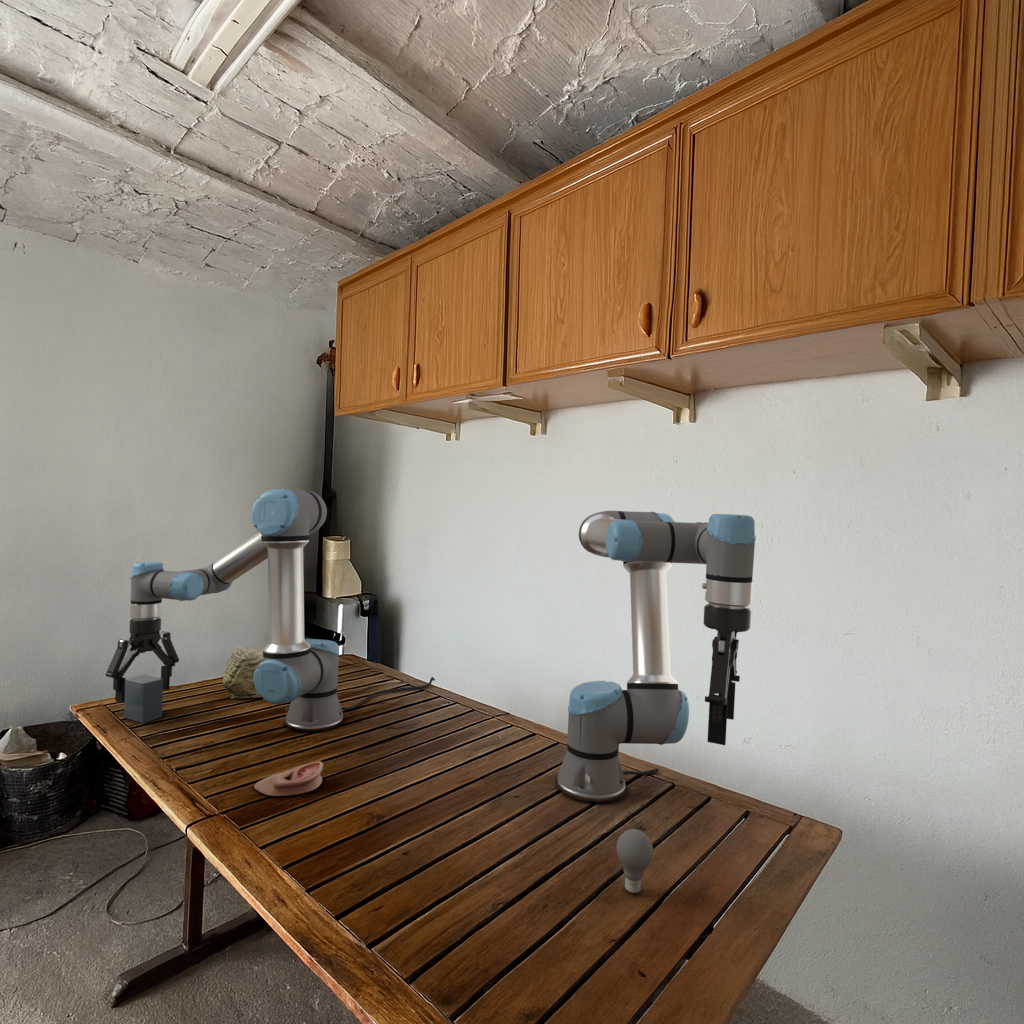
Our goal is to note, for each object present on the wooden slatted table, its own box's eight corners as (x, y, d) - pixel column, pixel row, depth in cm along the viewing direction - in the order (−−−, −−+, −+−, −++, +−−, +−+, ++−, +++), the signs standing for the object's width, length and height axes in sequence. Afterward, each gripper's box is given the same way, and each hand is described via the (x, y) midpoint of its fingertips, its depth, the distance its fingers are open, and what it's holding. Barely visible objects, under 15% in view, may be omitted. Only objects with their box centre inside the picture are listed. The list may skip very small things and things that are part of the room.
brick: (143, 711, 179) (144, 674, 179) (162, 717, 176) (163, 678, 176) (123, 717, 174) (125, 679, 174) (142, 723, 171) (144, 683, 170)
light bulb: (610, 879, 108) (613, 822, 108) (644, 879, 109) (647, 822, 109) (619, 902, 102) (622, 840, 102) (655, 901, 103) (658, 840, 103)
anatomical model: (246, 773, 134) (276, 753, 145) (245, 792, 134) (276, 770, 145) (303, 782, 131) (330, 760, 142) (302, 801, 131) (329, 777, 142)
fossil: (218, 695, 195) (220, 647, 195) (278, 685, 208) (279, 640, 207) (228, 703, 189) (230, 653, 188) (289, 692, 201) (290, 645, 201)
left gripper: (176, 610, 187) (173, 682, 187) (91, 623, 165) (89, 705, 165) (194, 613, 184) (191, 686, 184) (110, 627, 162) (107, 710, 162)
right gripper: (713, 594, 120) (708, 705, 120) (693, 613, 97) (686, 750, 98) (755, 598, 117) (750, 712, 117) (745, 619, 94) (738, 760, 95)
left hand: (143, 695), depth 175 cm, fingers open, 12 cm apart
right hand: (721, 729), depth 107 cm, fingers open, 13 cm apart
